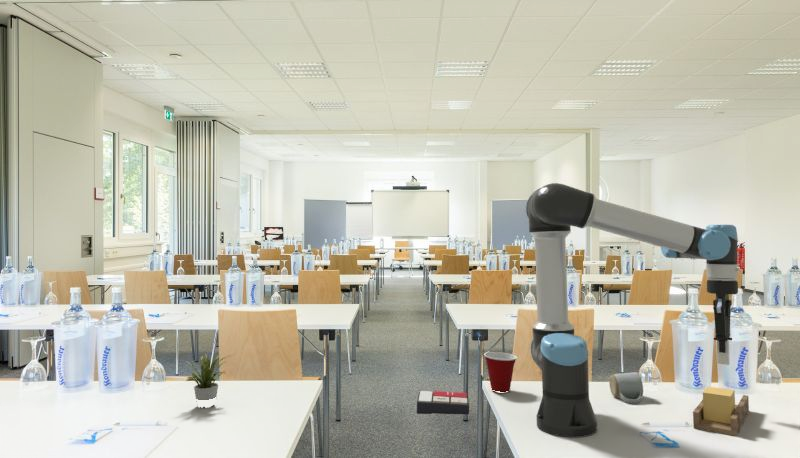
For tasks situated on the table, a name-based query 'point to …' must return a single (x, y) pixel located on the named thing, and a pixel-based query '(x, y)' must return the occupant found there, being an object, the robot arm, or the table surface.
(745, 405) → the walnut chute
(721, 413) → the mustard block
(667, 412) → the table surface
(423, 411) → the black red white box
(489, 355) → the plastic cup
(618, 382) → the ceramic mug
